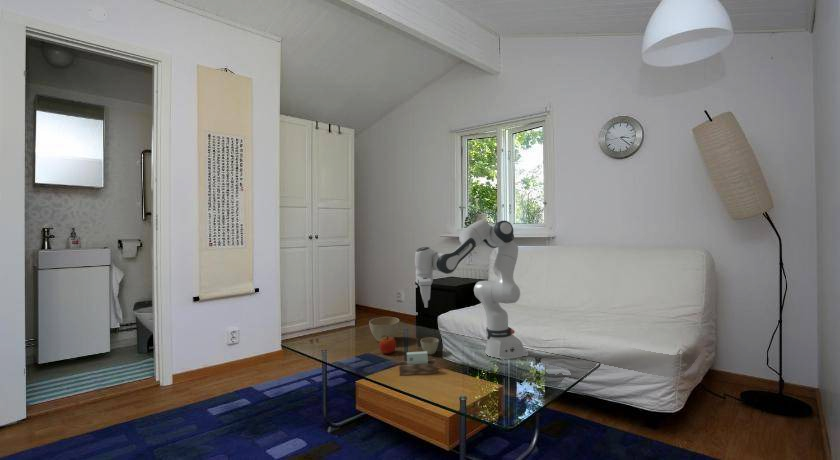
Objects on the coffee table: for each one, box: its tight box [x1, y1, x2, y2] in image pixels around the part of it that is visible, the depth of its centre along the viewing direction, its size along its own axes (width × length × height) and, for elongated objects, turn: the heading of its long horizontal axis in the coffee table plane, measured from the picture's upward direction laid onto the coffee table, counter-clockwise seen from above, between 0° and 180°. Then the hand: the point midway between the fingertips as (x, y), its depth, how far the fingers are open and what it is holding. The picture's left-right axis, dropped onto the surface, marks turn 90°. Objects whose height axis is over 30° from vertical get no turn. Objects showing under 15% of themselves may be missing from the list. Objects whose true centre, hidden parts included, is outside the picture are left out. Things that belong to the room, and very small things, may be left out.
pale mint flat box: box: [406, 350, 429, 365], centre depth 218 cm, size 10×3×8 cm, turn 93°
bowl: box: [420, 337, 440, 355], centre depth 242 cm, size 10×10×7 cm
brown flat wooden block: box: [398, 358, 438, 376], centre depth 218 cm, size 18×8×4 cm, turn 93°
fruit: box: [378, 335, 397, 355], centre depth 245 cm, size 10×10×10 cm
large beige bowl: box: [368, 316, 400, 343], centre depth 266 cm, size 18×18×12 cm
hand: (425, 305), depth 230 cm, fingers open, 8 cm apart
